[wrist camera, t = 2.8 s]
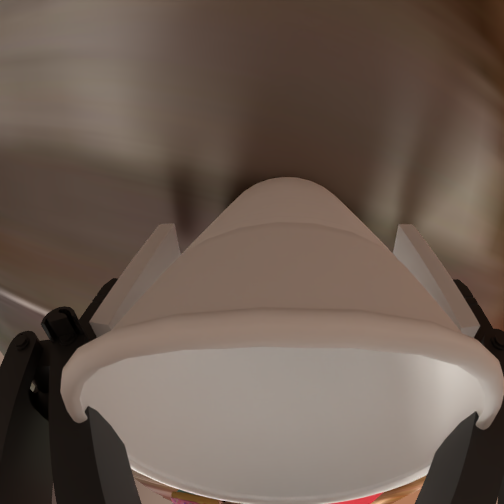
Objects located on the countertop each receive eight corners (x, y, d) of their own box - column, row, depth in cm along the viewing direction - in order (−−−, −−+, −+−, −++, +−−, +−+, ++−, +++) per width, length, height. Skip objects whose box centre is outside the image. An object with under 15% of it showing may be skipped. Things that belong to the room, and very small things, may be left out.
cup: (418, 179, 12) (572, 361, 3) (335, 328, 17) (351, 508, 8) (212, 105, 12) (-4, 204, 2) (174, 283, 17) (97, 463, 7)
